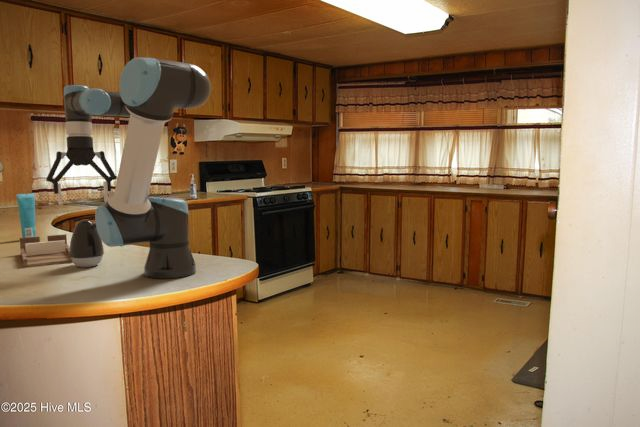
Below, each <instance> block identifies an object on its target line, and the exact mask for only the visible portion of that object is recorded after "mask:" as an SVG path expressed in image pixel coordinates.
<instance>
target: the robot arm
mask: <svg viewBox="0 0 640 427" xmlns="http://www.w3.org/2000/svg"><path fill="white" fill-rule="evenodd" d="M210 80H211V79H210V78H209V76H208V75H207V73H206V71H204V70H203V69H202V68H200V67H199V66H198V65H196V64H194V63H189V62H180V61H174V60H167V59H161V58H160V59H159V58H156V57H155V58H154V57H150V56H149V57H140V56H139V57H134V58H131V60H129V61H127V63H126V64H125V65H124V67H123V69H122V72H121V73H120V78H119V85H118V86H119V88H120V89H119V91H113V90H112V91H111V90H110V91H109V90H103V89H101V88H89V87H88V86H87V85H83V84H82V85H79V84H71V85H70V84H69V85H65V86H64V87H63V100H64V101H63V105H64V118H65V132H66V135H67V136H66V148H67V149H66V152H64V151H57V152H56V154H55V157H56V158H55V160H54V162H53V164H52V166H51V168H50V170H49V173H48V174H47V177H46V178H45V179H46V181H47V182H48V183H51V184H53V185H52V186H53V193H54V194H55V195H57V201H58V202H57V203H58V205H63V198H62V186H61V184H62V183H60V181H61V179H62V178H63V177H64V176H65V174H66V173H67V172H68V171H69V170H70V169H71V167H73V166H77V167H78V166H79V167H80V166H89V165H90V167H92V168H93V169H94V170H95V171H96V172H97V173H98V174H99V175H100V176H101V177H102V179H103V180H104V181H103V182H102V183H103V184H102V185H103V201H104V202H105V203H106V204H105V205H103V204H102V205H99V206H98V207H97V208H96V209H95V215H94V219H95V220H94V223H96V228H97V231H98V234H99V236H100V238H101V240H102V244H103V245H104V244H105V246H106V247H111V248H113V247H121V248H122V247H124V246H130V245H139V244H144V243H149V244H148V245H149V248H148V250H149V251H148V252H147V257H146V259H145V264H144V267H143V271H144V272H143V273H144V276H145V277H148V278H152V279H177V278H184V277H188V276H191V275H193V274H195V273H196V272H197V267H196V266H197V265H196V262H195V259H194V256H193V254H192V251H191V248H190V230H189V227H190V226H189V222H190V221H189V216H190V212H189V206H188V202H187V201H186V200H185V199H180V198H171V197H158V196H156V197H155V196H149V192H150V189H151V188H150V187H151V184H152V180H153V175H154V171H155V166H156V161H157V159H158V153H159V150H160V146H161V145H160V144H161V140H162V137H163V132H164V128H165V124H166V123H167V122H170V121H171V120H172V119H173V116H174V113H175V109H183V110H190V109H197V108H200V107H202V106H204V105H205V104H206V103H207V101H208V100H209V99H210V97H211V92H212V85H211V81H210ZM92 116H103V117H104V116H106V117H129V119H128V123H127V128H126V134H125V139H124V143H123V149H122V153H121V154H122V155H121V160H120V165H119V169H118V174H117V176H116V174H115V172H114V170H113V169H112V167H111V165H110V164H109V162H108V160H107V159H106V154H105V152H104V151H102V150H100V151H95V150H94V138H93V137H92V135H93V123H92ZM65 157H67V159H68V162H67V163H66V164H65V166H64V167H63V168H62V169H61V171H59V173H58V174H57V175H56V176H55V177H54V175H55V173H56V172H57V170H58V167H59V165H60V163H61V161H62V160H63V159H64V158H65ZM95 157H97V159H100V161H101V163H102V165H103V167H104V168H105V170H106V171H107V173H108V174H106V172H104V171H103V170H102V168H101V167H100V166H99V165H98V164H97V163H96V162H95V161H94V158H95ZM108 175H109V176H108ZM114 180H116V184H115V189H114V192H111V191H112V181H114ZM109 192H111V193H110V194H109Z"/></svg>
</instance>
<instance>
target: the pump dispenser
mask: <svg viewBox="0 0 640 427" xmlns="http://www.w3.org/2000/svg"><path fill="white" fill-rule="evenodd" d="M69 244H70V245H69V247H70V251H69V254H70V257H71V260H72V263H73V264H74V265H75V266H76V267H79V268H92V267H95V266H97V265H99V264H100V263H101V262H102V260H103V257H104V254H105V250H104V243H103V241H102V240H101V238H100V236H99V234H98V231H97V227H96V222H93V221H92V220H91V219H85V218H84V219H81V220H79V221H77V223H76V224H75V227H74V229H73V231H72V235H71V238H70V242H69Z"/></svg>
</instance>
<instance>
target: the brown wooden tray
mask: <svg viewBox="0 0 640 427" xmlns="http://www.w3.org/2000/svg"><path fill="white" fill-rule="evenodd" d="M40 238H41V237H40V236H36V237H26V238H22V237H19V247H20V248H19V249H20V257H21V261H22V265H23V268H33V267H42V265H43V266H51V265H60V264H69V263H70V264H72V263H73V262H72V260H71V257H70V254H69V251H70V245H68V241H67V234H53V235H47V236H46V238H47V242H50V241H62V240H65V248H66V252H57V253H47V254H36V255H26V249H25V244H26V243H38V242H41V241H40V240H41V239H40ZM71 262H72V263H71ZM32 266H33V267H32Z"/></svg>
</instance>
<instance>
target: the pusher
mask: <svg viewBox="0 0 640 427" xmlns="http://www.w3.org/2000/svg"><path fill="white" fill-rule="evenodd" d="M25 249H26V255H36V254H47V253H57V252H66V248H65V240H62V241H50V242H48V241H42V242H41V241H40V242H38V243H26V244H25Z"/></svg>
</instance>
